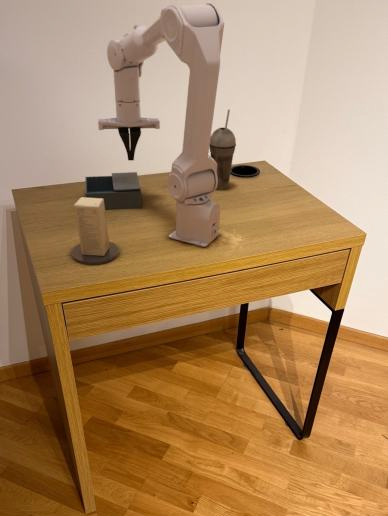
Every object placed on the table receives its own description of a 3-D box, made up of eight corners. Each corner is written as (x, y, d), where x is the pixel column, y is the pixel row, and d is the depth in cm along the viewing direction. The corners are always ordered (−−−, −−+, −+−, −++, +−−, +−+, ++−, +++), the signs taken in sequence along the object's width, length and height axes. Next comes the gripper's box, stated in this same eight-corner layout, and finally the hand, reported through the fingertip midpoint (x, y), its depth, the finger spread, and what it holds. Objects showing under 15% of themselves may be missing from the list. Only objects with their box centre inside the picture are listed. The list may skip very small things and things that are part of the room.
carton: (137, 190, 134) (137, 174, 132) (141, 207, 125) (141, 191, 123) (87, 192, 132) (85, 176, 130) (87, 210, 123) (85, 193, 121)
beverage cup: (202, 183, 140) (205, 107, 127) (225, 180, 142) (231, 105, 129) (213, 193, 134) (217, 114, 122) (237, 189, 137) (243, 112, 124)
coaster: (127, 249, 108) (127, 246, 108) (101, 269, 101) (100, 266, 101) (90, 238, 111) (90, 236, 111) (62, 257, 104) (61, 254, 104)
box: (109, 247, 107) (105, 198, 100) (104, 256, 104) (99, 206, 97) (86, 245, 108) (80, 196, 101) (80, 254, 104) (73, 204, 97)
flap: (136, 173, 131) (136, 172, 131) (140, 189, 122) (140, 188, 122) (111, 174, 130) (111, 173, 130) (113, 191, 122) (113, 189, 121)
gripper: (156, 95, 119) (157, 153, 127) (95, 96, 117) (101, 154, 125) (160, 102, 113) (161, 162, 122) (96, 103, 111) (101, 164, 120)
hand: (130, 159), depth 123 cm, fingers closed
